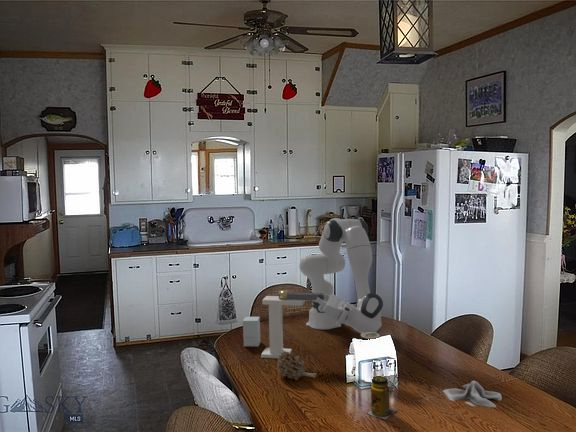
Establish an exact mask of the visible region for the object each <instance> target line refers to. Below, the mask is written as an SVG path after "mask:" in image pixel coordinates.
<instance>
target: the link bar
mask: <svg viewBox="0 0 576 432" xmlns="http://www.w3.org/2000/svg"><path fill="white" fill-rule="evenodd" d="M278 296H279V299H281V300H286V299H289V300H305V301H312V300H316V299H317V297H319V298H321V300H323V301H324V294H323V293H313V292H290V291H289V290H286V289H285V290H284V289H283V290H279V291H278Z"/></svg>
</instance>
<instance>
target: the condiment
mask: <svg viewBox="0 0 576 432" xmlns="http://www.w3.org/2000/svg"><path fill="white" fill-rule="evenodd" d="M388 382H389V379H388V378H387V377H386V376H382V375H381V376H376V377H373V379H372V383H371V386H370V395H371V396H370V398H371V400H370V401H371V403H370V408H371V409H370V410H369V411H367V412H366V414H368V415H371V416H372V417H376V418H379V419H383V420H387V419H388V418H389V417H391V416H392V415H393V414H394V413H396V412H397V411H398V409H396V408H392V407H390V387H389V383H388Z"/></svg>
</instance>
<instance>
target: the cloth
mask: <svg viewBox="0 0 576 432" xmlns="http://www.w3.org/2000/svg"><path fill="white" fill-rule="evenodd" d="M461 387H463V388H465V389H461V388H457V387H456V388H454V387H453V388H448V389H444V390H442V392H443V393H444V394H445V396H446V397H447V399H448V400H450V401H452V402H455V401H457V400H470V401H464V404H466V405H469V406H471V407H476V406H477V405H478V406H484V407H489V408H496V407H497V405H496V404H495V403H493V402H492V401H493V400H495V401H499V402H500V401H502V400H503V399H502V398H503V397H502V394H501V393H500V392H497V391H492V390H485V388H483V386H482V385H481V384H480V383H479V382H478V381H476V380H471V381H470V383H467V384H463V385H462V386H461ZM490 400H492V401H490ZM475 404H476V405H475Z"/></svg>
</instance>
